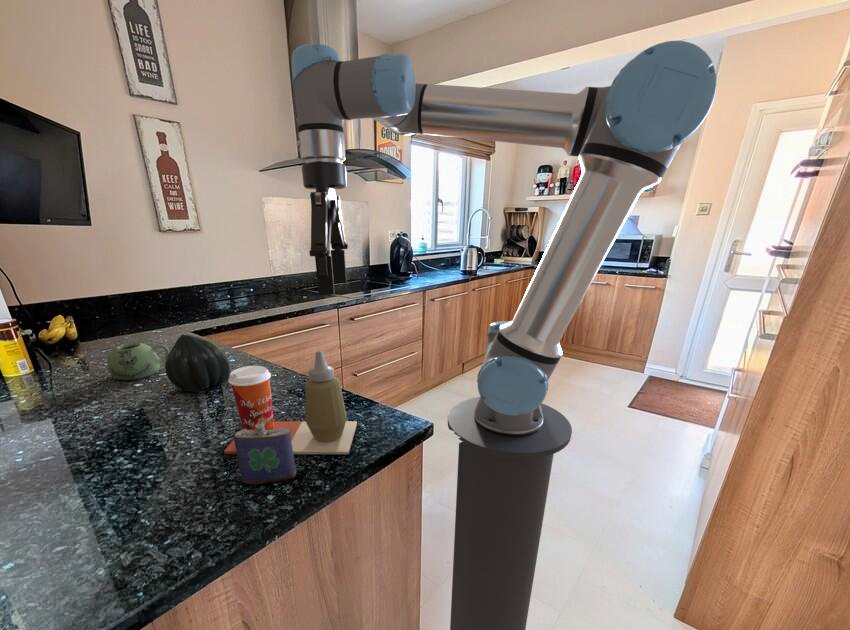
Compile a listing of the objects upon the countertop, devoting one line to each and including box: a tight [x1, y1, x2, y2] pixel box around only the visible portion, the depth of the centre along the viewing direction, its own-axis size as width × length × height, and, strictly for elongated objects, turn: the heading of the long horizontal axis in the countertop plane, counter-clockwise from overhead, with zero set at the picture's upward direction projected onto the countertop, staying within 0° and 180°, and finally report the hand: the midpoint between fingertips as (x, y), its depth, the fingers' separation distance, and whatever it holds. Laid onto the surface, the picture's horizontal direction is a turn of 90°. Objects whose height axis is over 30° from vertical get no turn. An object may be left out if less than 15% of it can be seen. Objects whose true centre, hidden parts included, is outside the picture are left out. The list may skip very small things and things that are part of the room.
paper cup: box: [228, 365, 275, 431], centre depth 77 cm, size 8×8×14 cm
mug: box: [106, 342, 170, 381], centre depth 114 cm, size 16×13×9 cm
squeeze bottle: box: [304, 349, 348, 442], centre depth 76 cm, size 8×8×18 cm
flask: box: [233, 422, 297, 484], centre depth 66 cm, size 9×3×11 cm, turn 96°
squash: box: [164, 333, 231, 393], centre depth 104 cm, size 14×15×15 cm
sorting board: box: [223, 420, 358, 455], centre depth 80 cm, size 24×12×1 cm, turn 88°
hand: (334, 288), depth 76 cm, fingers open, 13 cm apart
